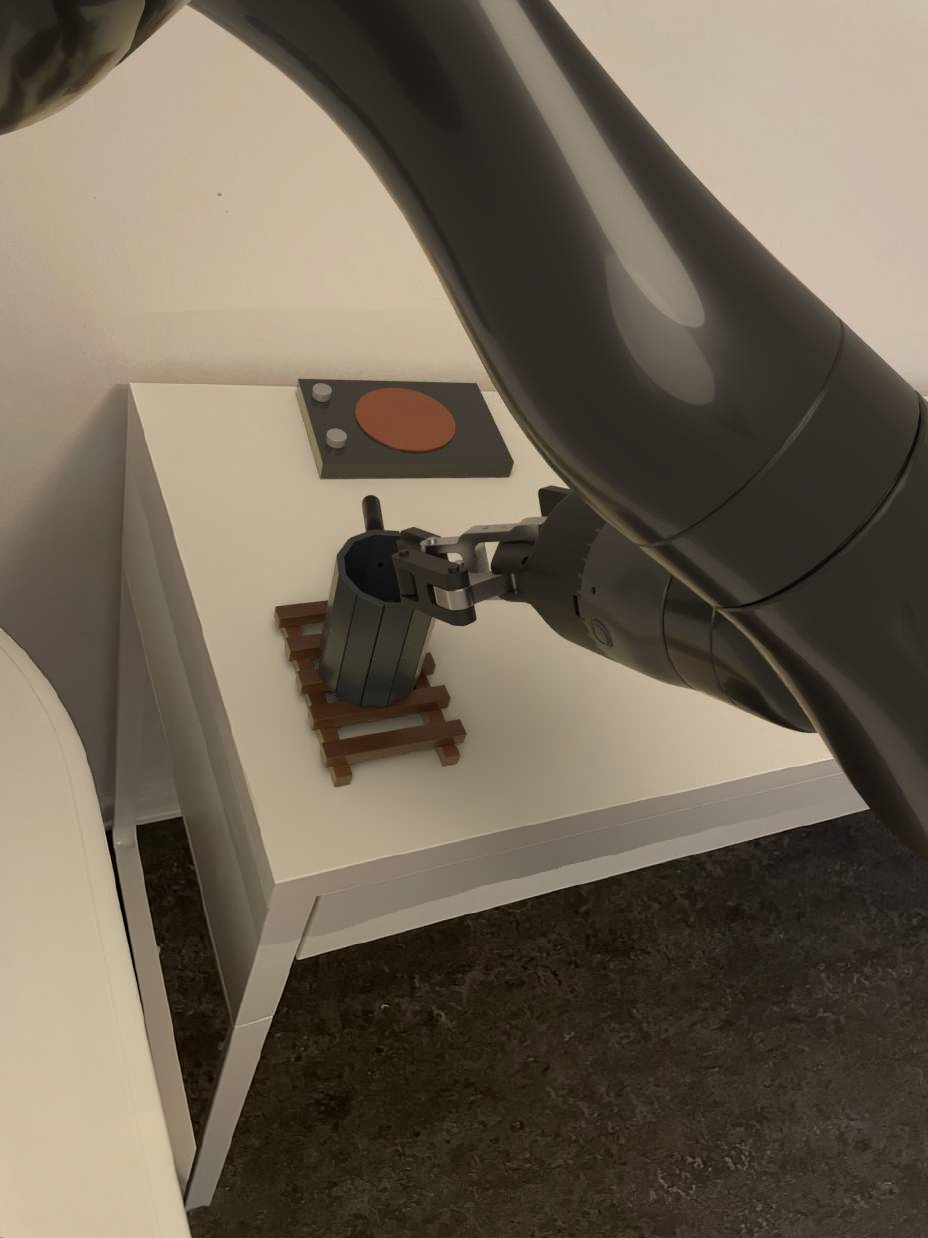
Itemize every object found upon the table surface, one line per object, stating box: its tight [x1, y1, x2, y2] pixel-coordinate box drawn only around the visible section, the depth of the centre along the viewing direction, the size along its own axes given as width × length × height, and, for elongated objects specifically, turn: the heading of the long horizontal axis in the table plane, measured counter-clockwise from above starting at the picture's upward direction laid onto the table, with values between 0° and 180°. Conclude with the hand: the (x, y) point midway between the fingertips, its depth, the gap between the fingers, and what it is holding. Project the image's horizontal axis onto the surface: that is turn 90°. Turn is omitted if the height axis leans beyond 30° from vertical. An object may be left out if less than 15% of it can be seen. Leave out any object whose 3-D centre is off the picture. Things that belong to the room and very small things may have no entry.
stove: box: [295, 378, 515, 480], centre depth 86 cm, size 16×11×2 cm
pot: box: [317, 494, 437, 707], centre depth 64 cm, size 12×6×9 cm, turn 10°
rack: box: [273, 599, 467, 788], centre depth 66 cm, size 14×9×2 cm, turn 21°
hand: (478, 525), depth 56 cm, fingers open, 8 cm apart
